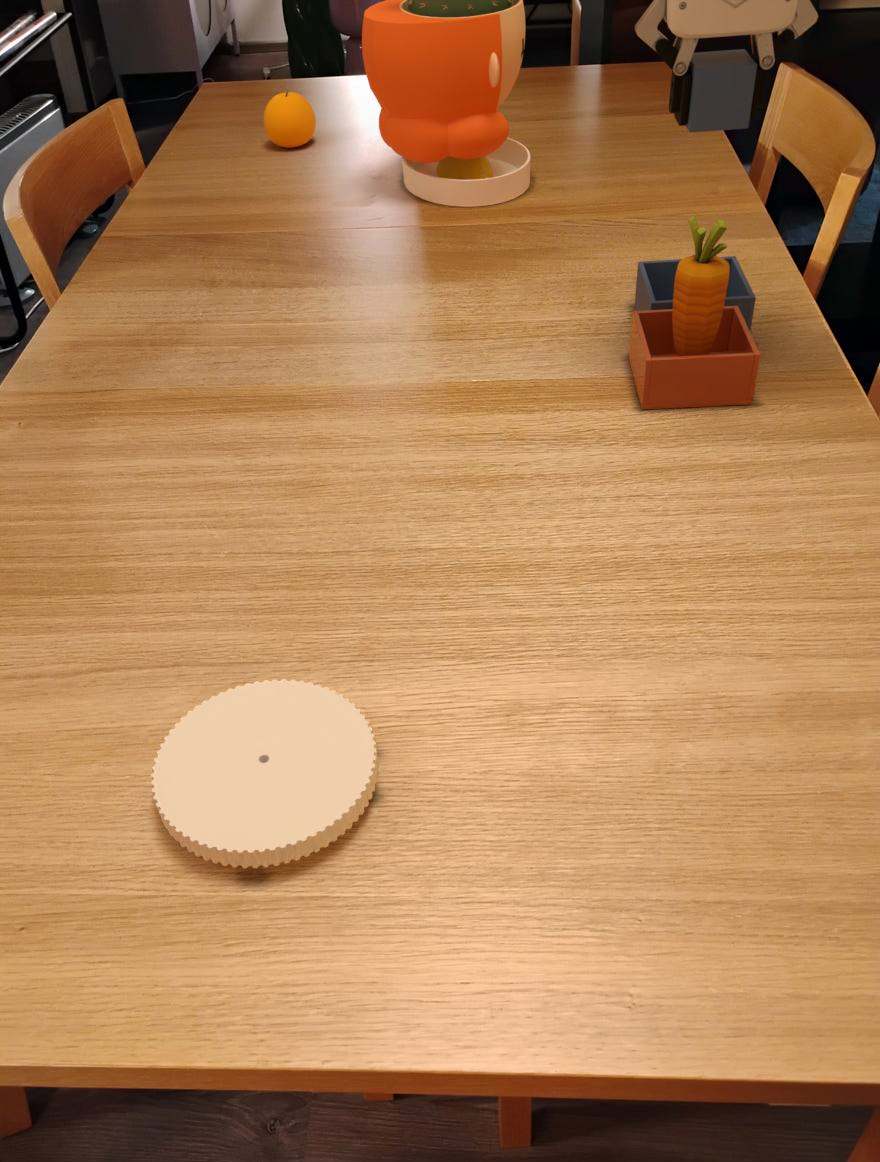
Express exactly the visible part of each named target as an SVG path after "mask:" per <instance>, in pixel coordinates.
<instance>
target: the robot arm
mask: <svg viewBox="0 0 880 1162" xmlns="http://www.w3.org/2000/svg"><path fill="white" fill-rule="evenodd" d="M818 14H819V13H818V12H817V10H816V8H815V6H814V5H813V3H812V2H811V0H653V1H652V2H651V3H650V4H649V6H648V7H647V9H646V10H645V11H644V13H642V15H641V16H640V18H639V19H638V20H637V22H636V23H635V25H634V31H635V34H636V35H637V37H638V38H640V39H641V40H642V41H643V43H645V44H646V45H647V46H648V47H650V48H651V49H652V50H653V51H654V52H656V54H657V56H659V57H660V58H661V59H662V60H663V62H664V63H665V64H666V65H667V67H669V69H670V70H671V77H670V88H669V97H668V98H669V99H668V111H669V114H674V115H673V117H674V119H675V121H676V123H677V125H678V126H679V127H683V126H685V127H686V124H687V123H688V117H689V107H690V98H691V88H692V75H691V74H690V65H689V64H690V61H691V59H692V56H693V53H695V51H696V47H697V45H698V42H699V39H708V38H709V39H710V38H722V37H723V38H724V37H735V36H736V37H737V36H748V35H749V36H750V37H749V38H750V44H751V52H752V55H750V56H751V58H752V59H753V60H754V61H755V62H756V64H757V70H756V77H755V84H754V91H753V98H752V105H751V112H750V119H749V122H755V120H756V116H757V115H756V114H757V108H762V106H764V105H763V104H764V99H765V91H766V86H767V78H768V72H769V70H770V69H771V68H772V67H773V66H774V65H775V61H776V60H777V59H778V58H779V57H780V56H781V55H782V54H783V53H784V52H785V51H786V50H787V49H788V48H790V46H791V45H792V44H793V43H794V41H795V40H796V39H798V38H799V37H801V36H802V35H803V34H804V33H805V32H806V31H807V30H809V29H810V28H811V27H812V26H813V25H815V24H816V23H817V21H818V19H819V15H818ZM662 20H663V21H664V22H665V23H666V24H667V28H668V29H669V30H670V32H671V33H672V34H673V35H675V39H674V42H673V43H672V42H671V41H670V39H668V37H667V36H665V35H664V34H663V33H662V32H661V30H659V29H658V27H659V24H660V22H662Z"/></svg>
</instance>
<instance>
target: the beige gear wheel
mask: <svg viewBox="0 0 880 1162" xmlns="http://www.w3.org/2000/svg"><path fill="white" fill-rule="evenodd" d="M209 698H210V699H208V700H207V699H204V700H203V701H201V704H197V705H195V706H194V708H193V710H189V711H187V713H186V715H183V716H181V717H180V721H179V722H175V724H174V727H173V728H170V729H169V731H168V735H165V736H164V738H163V742H161V743H160V744H159V748H160V749H159V750H156V753H155V754H156V756H157V757H154V759H153V764H154V765H152V767H151V770H152V773H151V774H150V778H151V781H150V785H151V787H152V788H151V793H152V797H153V801H154V804H155V806H156V809H157V811H158V813H159V817H160V819H161V822H162V823H163V825H164V828H165V829H166V830H167V831H168V834H169V835H170V836H171V837H172V836H173V839H174V841H175V842H176V843H177V842H178V843H179V844H180V846H181V847H182V848H185V847H186V850H187V852H188V853H194V855H195V856H196V857H197V858H200V857H202V858H203V860H204V861H209V860H211V861H212V862H211V863H213V864H216V865H217V864H218V863H220V864H221V866H224V867H227V866H228V865H230V866H231V867H232V868H238V866H241V868H242V869H248V867H252V869H258V868H259V867H261V866H262V867H263V868H269V866H270V865H273V866H274V867H277V866H280V864H282V863H284V864H285V865H286V864H290V863H291V861H293V860H294V861H295V862H297V861H300V860H301V857H305V858H307V857H310V856H311V853H313V852H314V853H318V852H320V851H321V850H320V849H321V848H327V847H328V846H330V843H331V842H334V843H335V842H336V841H338V837H339V836H344V835H345V834H346V830H347V829H348V830H350V829H352V827H353V823H357V822H358V821H359V819H360V818H359V816H360V815H361V816H362V815H363V814H364V813H365V808H367V807H368V806H369V805H370V804H369V803H370V802H369V800H372V799H373V792H375V791H376V784H377V783H378V776H379V758H378V757H379V756H378V749H377V743H376V738H375V734H374V733H373V728H372V726H371V724H370V721H369V719H367V717H366V714H364V713H362V709H360V708H359V707H358V708H357V704H355V703H354V702H352V703H351V700H350V699H349V698H348V697H346V698H345V697H344V694H342V693H339V694H338V692H337V691H336V690H335V689H332V690H330V688H329V687H328V686H324V687H323V686H322V684H319V683H317V684H314V682H312V681H309V682H305V680H302V679H301V680H299V681H296V679H294V678H293V679H290V680H287V678H282V679H281V680H278V678H274V679H272V680H268V679H263V681H259V680H257V681H254V682H253V683H250V682H247V683H245V685H240V684H239V685H236V686H235V688H232V687H229V688H228V689H226V691H224V692H223V691H220V692H218V694H217V695H212V696H210V697H209Z"/></svg>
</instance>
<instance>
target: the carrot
mask: <svg viewBox="0 0 880 1162" xmlns="http://www.w3.org/2000/svg"><path fill="white" fill-rule="evenodd" d="M687 221H688V225H689V228H690V230H691V235H692V240H693V244H694V254H692V255H690V256H686V257H683V258H681V259H682V260H681V261H679V264H678V267H677V271H676V276H675V283H674V295H673V312H672V323H673V337H674V346H675V350H676V354H677V356H695V355H708V354H709V352H710V351H711V348H712V345H713V343H714V340H715V337H716V334H717V331H718V328H719V325H720V322H721V318H722V313H723V308H724V303H725V298H726V292H727V286H728V280H729V272H730V266H729V263H728V262H727V261H726V260H724V259H722V258H720V257H721V256H718V254H720V253H722V251H724V250H725V249H726V248H728V245H727V244H726V243H724V242H722V243H718V242H719V240H720V239H721V238H722V237H723V235H724V234H725V232H726V231H727V229H728V224H727V222H726V221H724V220H721V219H720V220H718V221H717V222H715V224H714V226H713V227H712V228H711V230H710V232H709V233H708V236H707V238H706V240H705V236H706V233H707V228H705V227H704V226H702V227H699V224H698V221H697V218H696V217H695V216H691V217H690V218H689V219H688V220H687ZM704 240H705V242H704ZM703 243H704V244H703ZM717 243H718V244H717ZM716 244H717V245H716Z"/></svg>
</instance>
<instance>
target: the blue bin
mask: <svg viewBox="0 0 880 1162" xmlns="http://www.w3.org/2000/svg"><path fill="white" fill-rule="evenodd" d="M719 257H720V258H722V259H724V260H726V261H727V262H728V263H729V266H730V272H729V280H728V286H727V292H726V298H725V303H724V306H738V307H739V309H740V311H741V313H742V316H743V318H744V320H745V322H746V324H747V327H748V329H749V331H750V332H751V330H752V325H753V318H754V311H755V305H756V299H757V297H756V295H755V293H754V291H753V289H752V287H751V285H750V282H749V281H748V279H747V277H746V275H745V273H744V271H743V269H742V267H741V264H740V262H739V261H738V258H737V256H736V255H732V256H719ZM682 259H683V258H680V259H679V258H678V259H677V258H676V259H661V260H659V259H658V260H641V261H640V260H639V261H637V272H636V282H635V293H634V294H635V296H634V305H633V306H634V311H645V310H664V309H673V295H674V283H675V276H676V271H677V267H678V264H679V261H681V260H682Z"/></svg>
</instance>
